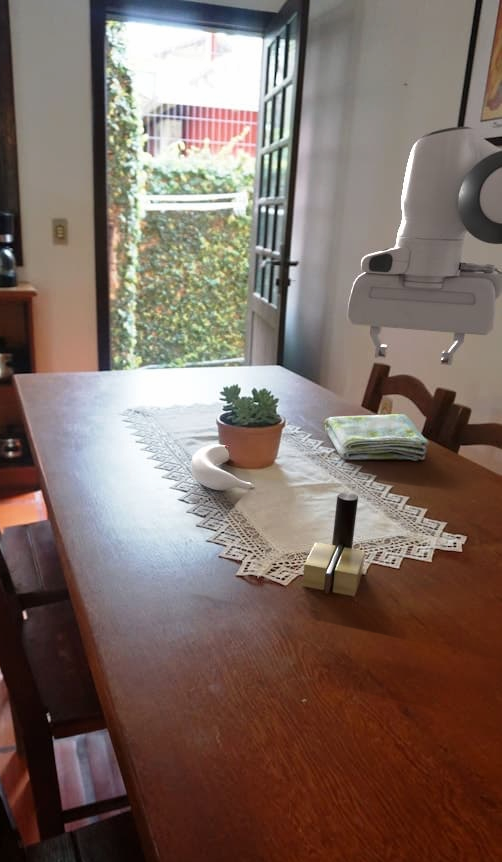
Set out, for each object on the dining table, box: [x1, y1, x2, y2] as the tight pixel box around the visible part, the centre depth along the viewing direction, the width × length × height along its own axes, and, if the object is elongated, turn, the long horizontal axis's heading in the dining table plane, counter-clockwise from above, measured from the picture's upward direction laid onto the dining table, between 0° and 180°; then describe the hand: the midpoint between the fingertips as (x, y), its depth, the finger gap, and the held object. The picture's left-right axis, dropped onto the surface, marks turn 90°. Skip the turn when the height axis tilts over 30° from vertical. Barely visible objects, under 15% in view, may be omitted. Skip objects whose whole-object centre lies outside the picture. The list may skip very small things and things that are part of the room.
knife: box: [324, 491, 359, 595], centre depth 91 cm, size 12×3×10 cm, turn 160°
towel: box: [324, 413, 430, 462], centre depth 147 cm, size 18×21×5 cm
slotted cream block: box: [302, 541, 366, 597], centre depth 97 cm, size 23×11×4 cm, turn 160°
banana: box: [189, 444, 255, 491], centre depth 129 cm, size 5×19×15 cm
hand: (412, 360), depth 100 cm, fingers open, 8 cm apart
